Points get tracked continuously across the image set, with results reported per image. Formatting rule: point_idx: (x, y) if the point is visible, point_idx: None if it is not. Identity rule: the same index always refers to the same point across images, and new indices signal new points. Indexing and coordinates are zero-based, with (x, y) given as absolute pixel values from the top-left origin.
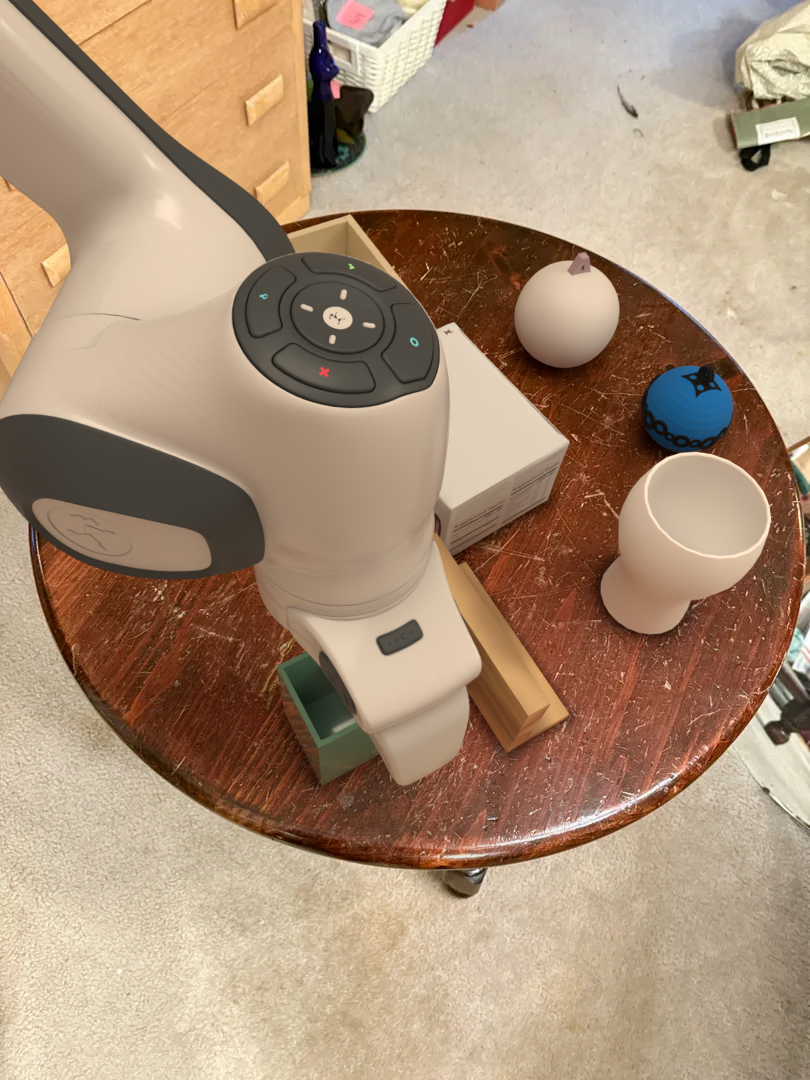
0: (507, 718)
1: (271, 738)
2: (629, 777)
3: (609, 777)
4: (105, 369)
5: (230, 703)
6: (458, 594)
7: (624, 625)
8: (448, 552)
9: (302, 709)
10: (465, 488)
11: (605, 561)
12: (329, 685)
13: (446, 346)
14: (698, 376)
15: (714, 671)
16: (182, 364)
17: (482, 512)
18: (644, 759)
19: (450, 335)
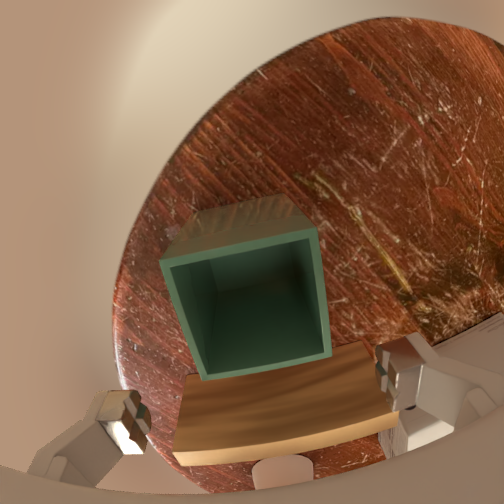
0: (194, 411)
1: (259, 171)
2: (155, 429)
3: (156, 421)
4: None
5: (313, 138)
6: (322, 437)
7: (264, 459)
8: (371, 434)
9: (227, 252)
10: (417, 446)
11: (316, 458)
12: (293, 255)
13: None
14: None
15: (217, 479)
16: None
17: (392, 432)
18: (166, 439)
19: None
